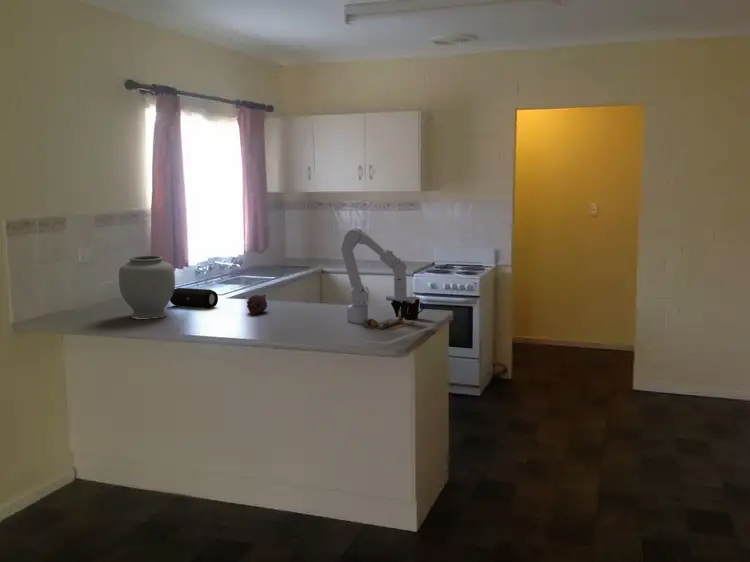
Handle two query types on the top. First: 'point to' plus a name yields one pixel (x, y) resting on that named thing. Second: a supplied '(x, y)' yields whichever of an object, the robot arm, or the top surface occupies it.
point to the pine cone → (256, 304)
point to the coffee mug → (413, 309)
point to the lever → (388, 324)
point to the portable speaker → (194, 298)
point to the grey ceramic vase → (147, 285)
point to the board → (392, 328)
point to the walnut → (373, 323)
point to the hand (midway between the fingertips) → (400, 317)
